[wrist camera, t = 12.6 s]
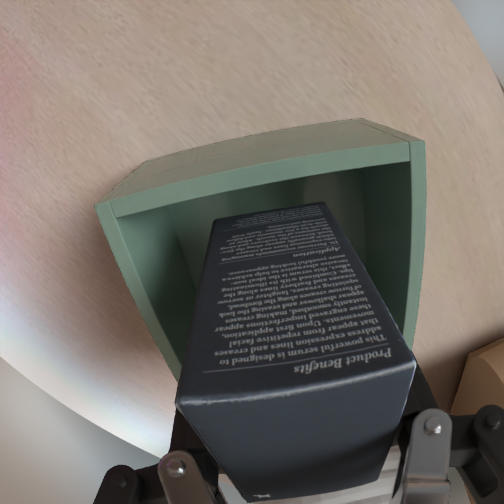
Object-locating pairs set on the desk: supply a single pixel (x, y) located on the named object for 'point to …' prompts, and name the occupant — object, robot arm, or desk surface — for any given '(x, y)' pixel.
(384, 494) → the table lamp
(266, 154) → the green storage bin
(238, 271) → the box
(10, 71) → the desk surface
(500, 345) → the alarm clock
